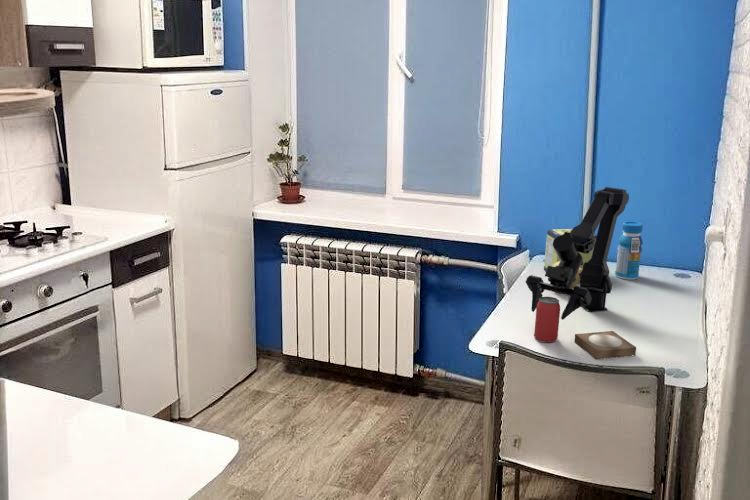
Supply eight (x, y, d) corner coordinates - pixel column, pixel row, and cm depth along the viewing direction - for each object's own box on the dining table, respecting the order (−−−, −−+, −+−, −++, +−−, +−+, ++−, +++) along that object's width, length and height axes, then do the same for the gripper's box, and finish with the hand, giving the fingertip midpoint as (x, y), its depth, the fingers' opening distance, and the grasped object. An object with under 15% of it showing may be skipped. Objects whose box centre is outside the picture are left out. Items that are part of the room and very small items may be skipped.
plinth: (611, 338, 221) (612, 330, 221) (635, 355, 210) (636, 347, 209) (574, 342, 218) (575, 333, 218) (596, 359, 207) (597, 350, 206)
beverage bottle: (611, 277, 276) (617, 224, 271) (617, 271, 283) (624, 219, 278) (635, 281, 272) (642, 227, 267) (641, 275, 279) (647, 222, 273)
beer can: (557, 344, 217) (561, 304, 213) (533, 342, 218) (537, 302, 214) (556, 335, 223) (560, 296, 219) (534, 333, 224) (537, 294, 221)
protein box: (594, 276, 277) (599, 235, 273) (554, 278, 274) (558, 236, 270) (581, 267, 287) (585, 227, 283) (542, 269, 284) (546, 229, 279)
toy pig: (586, 296, 256) (589, 266, 253) (550, 295, 256) (553, 265, 253) (579, 286, 266) (582, 257, 263) (544, 285, 266) (547, 256, 263)
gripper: (531, 248, 223) (509, 293, 217) (591, 261, 212) (570, 309, 206) (541, 268, 231) (520, 312, 226) (600, 281, 220) (580, 328, 214)
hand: (546, 314), depth 218 cm, fingers open, 9 cm apart
